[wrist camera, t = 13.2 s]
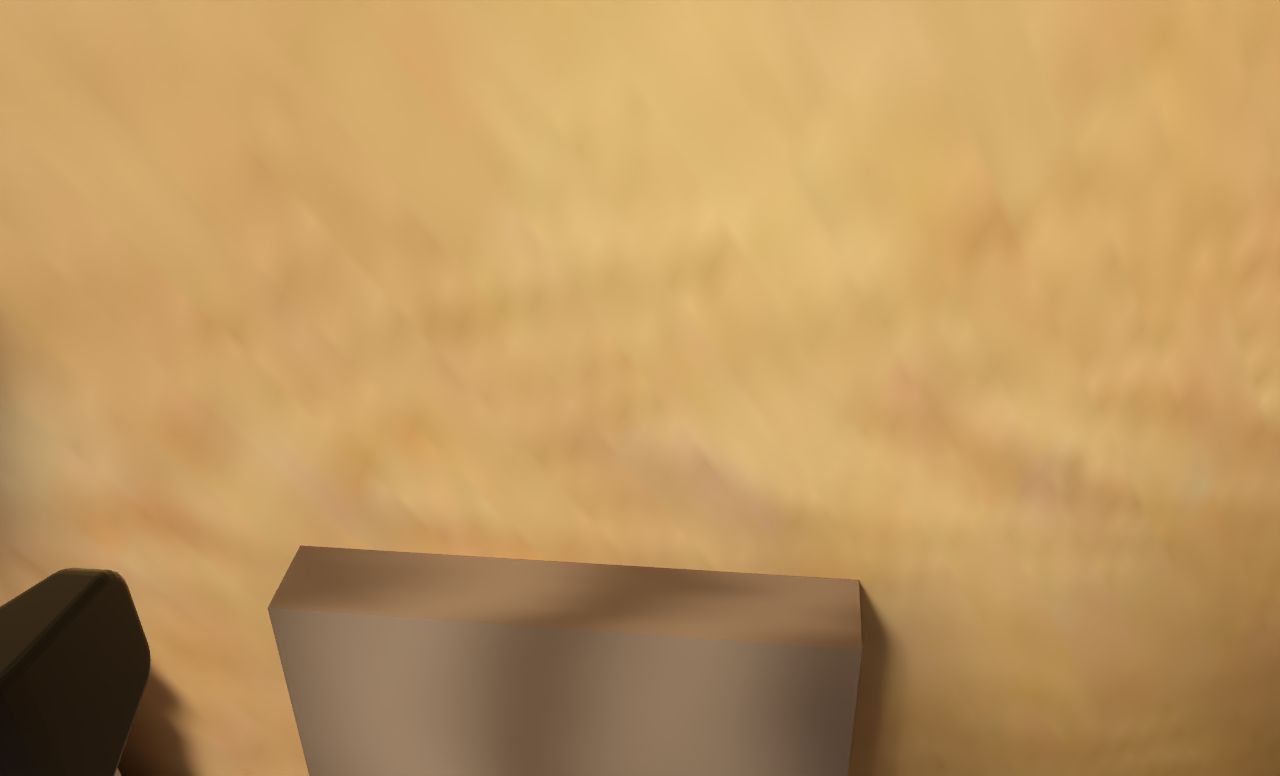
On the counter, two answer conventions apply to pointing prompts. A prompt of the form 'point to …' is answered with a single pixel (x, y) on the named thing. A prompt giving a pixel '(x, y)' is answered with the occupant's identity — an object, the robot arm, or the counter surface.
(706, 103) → the counter surface
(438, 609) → the walnut block
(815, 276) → the counter surface
